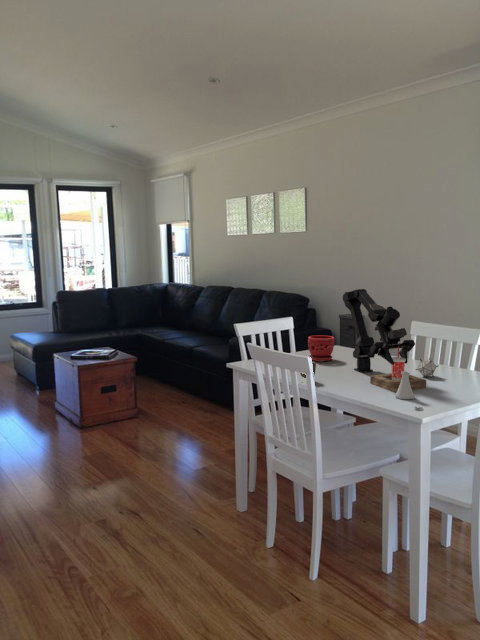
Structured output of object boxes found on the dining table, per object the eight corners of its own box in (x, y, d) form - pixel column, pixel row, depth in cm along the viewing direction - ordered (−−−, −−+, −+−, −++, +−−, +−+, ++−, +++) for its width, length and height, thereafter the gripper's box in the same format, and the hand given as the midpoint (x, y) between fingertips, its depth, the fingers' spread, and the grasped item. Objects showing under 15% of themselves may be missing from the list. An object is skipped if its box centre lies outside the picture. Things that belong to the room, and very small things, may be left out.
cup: (305, 384, 246) (305, 365, 245) (295, 380, 253) (295, 362, 252) (319, 381, 250) (319, 363, 248) (309, 378, 256) (309, 360, 255)
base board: (370, 383, 246) (370, 375, 245) (401, 379, 252) (401, 371, 251) (394, 392, 231) (394, 384, 231) (426, 387, 237) (426, 380, 237)
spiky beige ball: (430, 385, 255) (439, 370, 248) (411, 378, 256) (420, 363, 249) (432, 372, 261) (441, 357, 255) (414, 364, 263) (423, 350, 256)
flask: (392, 395, 227) (393, 370, 225) (410, 394, 227) (411, 369, 226) (399, 400, 220) (399, 374, 218) (417, 399, 220) (418, 374, 219)
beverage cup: (389, 377, 245) (389, 345, 243) (403, 378, 244) (404, 345, 242) (391, 381, 239) (392, 348, 237) (406, 381, 238) (407, 348, 236)
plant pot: (335, 362, 288) (336, 338, 286) (309, 362, 288) (309, 338, 287) (332, 356, 301) (332, 334, 299) (306, 357, 301) (306, 334, 300)
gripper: (374, 323, 239) (387, 354, 230) (413, 320, 244) (428, 351, 235) (364, 338, 248) (376, 369, 239) (402, 335, 253) (416, 366, 244)
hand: (399, 363), depth 239 cm, fingers closed on beverage cup, 6 cm apart
